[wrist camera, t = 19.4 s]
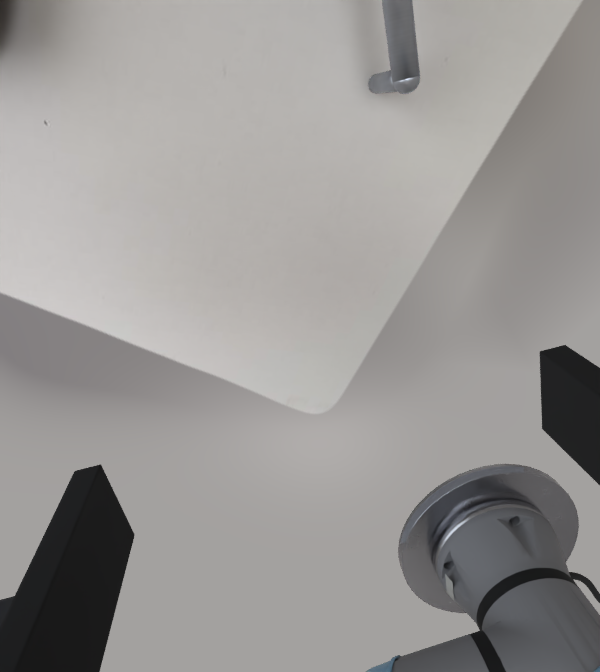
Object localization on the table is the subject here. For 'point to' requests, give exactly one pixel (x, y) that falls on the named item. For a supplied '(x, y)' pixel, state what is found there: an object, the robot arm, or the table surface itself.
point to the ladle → (398, 50)
